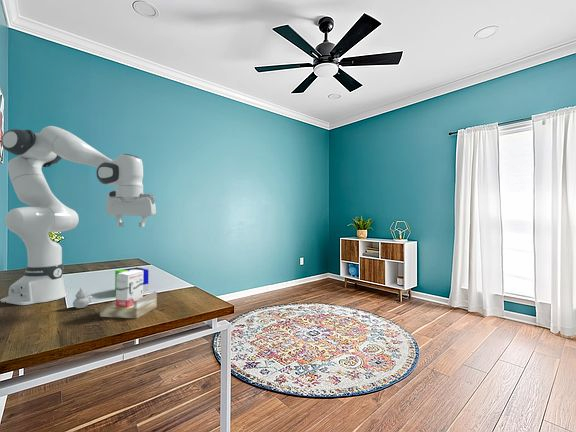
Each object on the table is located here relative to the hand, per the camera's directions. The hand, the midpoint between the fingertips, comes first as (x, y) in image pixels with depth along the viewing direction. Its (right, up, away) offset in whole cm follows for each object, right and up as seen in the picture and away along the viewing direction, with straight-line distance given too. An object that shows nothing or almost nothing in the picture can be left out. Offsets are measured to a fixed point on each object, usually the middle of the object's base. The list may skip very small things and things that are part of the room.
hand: (131, 226), depth 117 cm
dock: (+6, -31, -12) cm, 34 cm away
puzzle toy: (-8, -31, +14) cm, 35 cm away
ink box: (+7, -28, -13) cm, 32 cm away
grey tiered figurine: (-14, -31, -8) cm, 35 cm away
